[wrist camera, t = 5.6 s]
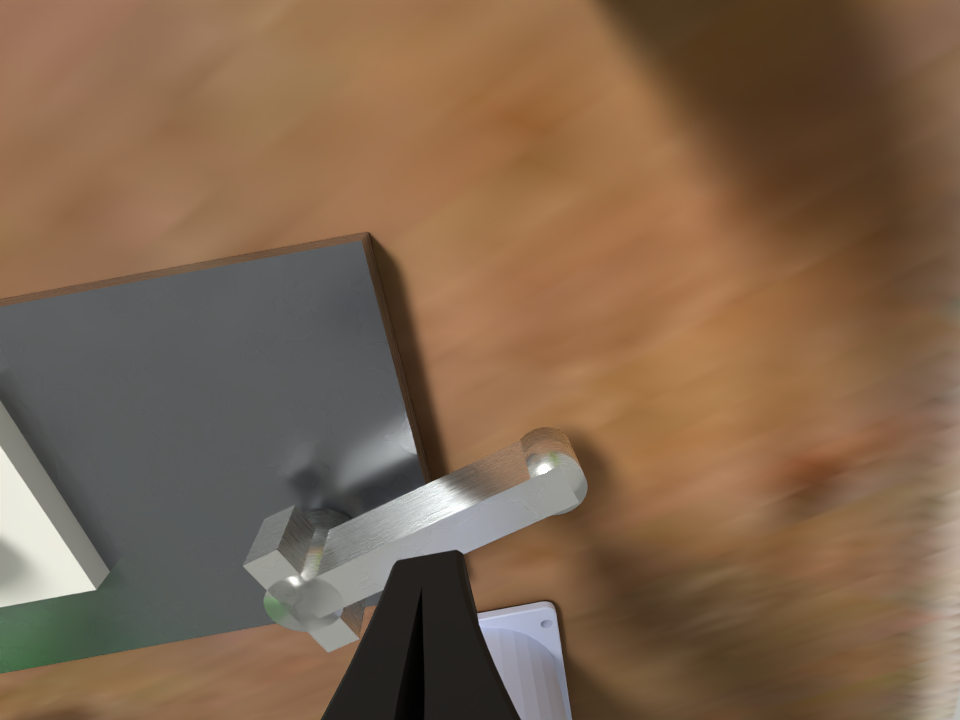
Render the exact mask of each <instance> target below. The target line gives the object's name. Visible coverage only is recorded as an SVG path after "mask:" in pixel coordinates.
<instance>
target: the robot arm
mask: <svg viewBox="0 0 960 720" xmlns="http://www.w3.org/2000/svg"><path fill="white" fill-rule="evenodd" d="M321 720H572V716H571V709H570V702H569V696H568V689H567V682H566V676H565V669H564V662H563V655H562V649H561V642H560V635H559V629H558V622H557V615H556V610H555V607H554V605H553V604H552V603H551V602H547V601H543V602H537V603H532V604H526V605H521V606H515V607H510V608H504V609H499V610H493V611H488V612H482V613H477V610H476V606H475V602H474V598H473V594H472V590H471V585H470V581H469V577H468V573H467V569H466V565H465V560H464V556H463V553H462V552H460V551H458V550H451V551H445V552H440V553H434V554H429V555H423V556H418V557H412V558H407V559H401V560H397V561H396V562H395V563H394V565H393V566H392V569H391V572H390V574H389V577H388V580H387V582H386V585H385V587H384V590H383V592H382V595H381V597H380V600H379V602H378V604H377V607H376V609H375V611H374V613H373V616H372V618H371V620H370V623H369V625H368V627H367V629H366V631H365V633H364V636H363V638H362V640H361V642H360V644H359V646H358V648H357V650H356V653H355V655H354V657H353V659H352V661H351V663H350V665H349V667H348V669H347V671H346V673H345V675H344V677H343V679H342V681H341V683H340V684H339V686H338V688H337V690H336V692H335V694H334V696H333V698H332V700H331V701H330V703H329V705H328V707H327V709H326V711H325V713H324V715H323V716H322V718H321Z"/></svg>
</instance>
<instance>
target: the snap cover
mask: <svg viewBox="0 0 960 720" xmlns="http://www.w3.org/2000/svg"><path fill="white" fill-rule="evenodd" d="M109 573H110V571H109V570H108V568H107V566H106V565H105V563H104V562H103V560H102V559H101V557H100V555H99V554H98V552H97V551H96V549H95V548H94V546H93V544H92V543H91V541H90V540H89V538H88V537H87V535H86V534H85V532H84V530H83V529H82V527H81V526H80V524H79V523H78V521H77V519H76V518H75V516H74V515H73V513H72V512H71V510H70V509H69V507H68V505H67V504H66V502H65V501H64V499H63V498H62V496H61V494H60V493H59V491H58V490H57V488H56V487H55V485H54V483H53V482H52V480H51V479H50V477H49V476H48V474H47V473H46V471H45V469H44V468H43V466H42V465H41V463H40V462H39V460H38V458H37V457H36V455H35V454H34V452H33V451H32V449H31V448H30V446H29V444H28V443H27V441H26V440H25V438H24V437H23V435H22V433H21V432H20V430H19V429H18V427H17V426H16V424H15V422H14V421H13V419H12V418H11V416H10V415H9V413H8V412H7V410H6V408H5V407H4V405H3V404H2V402H1V401H0V607H5V606H10V605H16V604H21V603H27V602H32V601H38V600H43V599H49V598H54V597H60V596H65V595H71V594H76V593H82V592H87V591H93V590H97V588H98V587H99V586H100V584H101V583H102V582H103V580H104V579H105V578H106V577H107V575H108V574H109Z"/></svg>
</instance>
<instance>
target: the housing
mask: <svg viewBox="0 0 960 720" xmlns="http://www.w3.org/2000/svg"><path fill="white" fill-rule="evenodd" d="M0 401H1V402H2V404H3V405H4V407H5V408H6V410H7V412H8V413H9V415H10V416H11V418H12V419H13V421H14V422H15V424H16V426H17V427H18V429H19V430H20V432H21V433H22V435H23V437H24V438H25V440H26V441H27V443H28V444H29V446H30V448H31V449H32V451H33V452H34V454H35V455H36V457H37V458H38V460H39V462H40V463H41V465H42V466H43V468H44V469H45V471H46V473H47V474H48V476H49V477H50V479H51V480H52V482H53V483H54V485H55V487H56V488H57V490H58V491H59V493H60V494H61V496H62V498H63V499H64V501H65V502H66V504H67V505H68V507H69V509H70V510H71V512H72V513H73V515H74V516H75V518H76V519H77V521H78V523H79V524H80V526H81V527H82V529H83V530H84V532H85V534H86V535H87V537H88V538H89V540H90V541H91V543H92V544H93V546H94V548H95V549H96V551H97V552H98V554H99V555H100V557H101V559H102V560H103V562H104V563H105V565H106V566H107V568H108V570H109V571H110V573H109V574H108V575H107V577H106V578H105V579H104V580H103V582H102V583H101V584H100V586H99V587H98V588H97V590H93V591H87V592H82V593H76V594H71V595H65V596H60V597H54V598H49V599H43V600H38V601H32V602H27V603H21V604H16V605H10V606H5V607H0V673H6V672H11V671H17V670H22V669H28V668H33V667H39V666H44V665H50V664H55V663H61V662H66V661H72V660H77V659H83V658H88V657H94V656H99V655H105V654H110V653H115V652H121V651H126V650H132V649H137V648H143V647H148V646H154V645H159V644H165V643H170V642H176V641H181V640H187V639H192V638H198V637H203V636H209V635H214V634H220V633H225V632H231V631H236V630H241V629H247V628H252V627H258V626H263V625H269V624H274V623H276V622H275V621H273V620H272V619H271V618H270V617H269V615H268V614H267V612H266V610H265V607H264V597H265V594H266V591H267V590H266V589H265V588H264V587H263V586H262V585H261V584H260V583H259V582H258V581H257V580H256V579H255V578H254V577H253V576H252V575H251V574H250V573H249V572H248V571H247V570H246V569H245V568H244V567H243V564H244V562H245V560H246V558H247V556H248V554H249V551H250V549H251V547H252V545H253V543H254V541H255V538H256V536H257V534H258V532H259V530H260V528H261V526H262V523H263V521H264V519H266V518H268V517H270V516H272V515H274V514H276V513H278V512H280V511H282V510H284V509H286V508H288V507H291V506H293V505H296V506H297V507H298V508H299V509H300V510H301V512H302V513H304V512H306V511H309V510H312V509H317V508H327V509H333V510H336V511H339V512H341V513H343V514H345V515H346V516H348V517H349V518H350V519H354V518H356V517H358V516H360V515H362V514H364V513H366V512H369V511H371V510H373V509H375V508H377V507H379V506H381V505H384V504H386V503H388V502H390V501H392V500H394V499H396V498H398V497H401V496H403V495H405V494H407V493H409V492H411V491H413V490H416V489H418V488H420V487H422V486H424V485H426V484H428V483H430V482H432V480H431V476H430V472H429V468H428V464H427V460H426V456H425V452H424V449H423V445H422V441H421V437H420V433H419V429H418V425H417V421H416V417H415V413H414V409H413V405H412V402H411V398H410V394H409V390H408V386H407V382H406V378H405V374H404V370H403V366H402V362H401V358H400V354H399V351H398V347H397V343H396V339H395V335H394V331H393V327H392V323H391V319H390V315H389V311H388V307H387V303H386V300H385V296H384V292H383V288H382V284H381V280H380V276H379V272H378V268H377V264H376V260H375V256H374V252H373V249H372V245H371V241H370V237H369V233H368V232H364V233H358V234H353V235H348V236H342V237H337V238H331V239H326V240H320V241H315V242H309V243H304V244H299V245H293V246H288V247H282V248H277V249H271V250H266V251H260V252H255V253H250V254H244V255H239V256H233V257H228V258H222V259H217V260H211V261H206V262H200V263H195V264H190V265H184V266H179V267H173V268H168V269H162V270H157V271H151V272H146V273H141V274H135V275H130V276H124V277H119V278H113V279H108V280H102V281H97V282H91V283H86V284H81V285H75V286H70V287H64V288H59V289H53V290H48V291H42V292H37V293H32V294H26V295H21V296H15V297H10V298H4V299H0ZM382 592H383V590H382V591H380V592H378V593H375V594H373V595H371V596H369V597H366V602H365V607H367V606H373V605H377V604H378V602H379V600H380V597H381V595H382Z"/></svg>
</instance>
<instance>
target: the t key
mask: <svg viewBox="0 0 960 720" xmlns="http://www.w3.org/2000/svg"><path fill="white" fill-rule="evenodd" d="M587 488H588V486H587V480H586V478H585V476H584V473H583V471H582V469H581V466H580V464H579V462H578V459H577V457H576V455H575V452H574V450H573V448H572V445H571V443H570V441H569V439H568V437H567V436H566V435H565V434H564V433H563V432H561V431H560V430H558V429H555V428H550V427H542V428H537V429H534V430H532V431H530V432H528V433H527V434H526V435H525V436H523V438H522V439H521V440H520V441H518V442H516V443H514V444H512V445H509V446H507V447H505V448H503V449H501V450H499V451H497V452H495V453H492V454H490V455H488V456H486V457H484V458H482V459H480V460H477V461H475V462H473V463H471V464H469V465H467V466H465V467H462V468H460V469H458V470H456V471H454V472H452V473H450V474H448V475H445V476H443V477H441V478H439V479H437V480H435V481H433V482H430V483H428V484H426V485H424V486H422V487H420V488H418V489H416V490H413V491H411V492H409V493H407V494H405V495H403V496H401V497H398V498H396V499H394V500H392V501H390V502H388V503H386V504H384V505H381V506H379V507H377V508H375V509H373V510H371V511H369V512H366V513H364V514H362V515H360V516H358V517H356V518H354V519H350V518H349V517H348V516H346V515H345V514H343V513H341V512H339V511H336V510H333V509H327V508H317V509H312V510H309V511H306V512H304V513H302V512H301V510H300V509H299V508H298V507H297V506H296V505H293V506H291V507H288V508H286V509H284V510H282V511H280V512H278V513H276V514H274V515H272V516H270V517H268V518H266V519H264V521H263V523H262V526H261V528H260V530H259V532H258V534H257V536H256V538H255V541H254V543H253V545H252V547H251V549H250V551H249V554H248V556H247V558H246V560H245V562H244V564H243V567H244V568H245V569H246V570H247V571H248V572H249V573H250V574H251V575H252V576H253V577H254V578H255V579H256V580H257V581H258V582H259V583H260V584H261V585H262V586H263V587H264V588H265V589H266V590H267V591H266V594H265V597H264V607H265V610H266V612H267V614H268V615H269V617H270V618H271V619H272V620H273V621H275V622H276V623H277V624H279V625H281V626H283V627H285V628H288V629H291V630H295V631H307V632H308V633H309V634H310V635H311V636H312V637H313V638H314V639H315V640H316V641H317V642H318V643H319V644H320V645H321V646H322V647H323V648H324V649H325V650H326V651H327V652H330V651H333V650H335V649H337V648H340V647H342V646H344V645H347V644H349V643H351V642H354V641H356V640H358V639H360V633H361V627H362V621H363V615H364V608H365V602H366V597H369V596H371V595H373V594H375V593H378V592H380V591H382V590H384V587H385V585H386V582H387V580H388V577H389V574H390V572H391V569H392V566H393V565H394V563H395V562H396V561H397V560H401V559H407V558H412V557H418V556H423V555H429V554H434V553H440V552H445V551H451V550H458V551H460V552H462V553H463V554H465V553H468V552H470V551H472V550H474V549H477V548H479V547H481V546H483V545H486V544H488V543H490V542H492V541H495V540H497V539H499V538H501V537H504V536H506V535H508V534H510V533H513V532H515V531H517V530H519V529H522V528H524V527H526V526H528V525H531V524H533V523H535V522H537V521H540V520H542V519H544V518H546V517H549V516H551V515H561V514H564V513H567V512H570V511H572V510H573V509H575V508H576V507H577V506H579V505H580V504H581V502H582V501H583V500H584V498H585V496H586V494H587Z"/></svg>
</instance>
